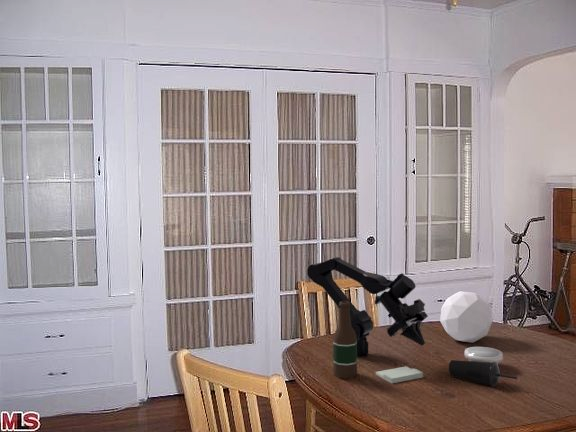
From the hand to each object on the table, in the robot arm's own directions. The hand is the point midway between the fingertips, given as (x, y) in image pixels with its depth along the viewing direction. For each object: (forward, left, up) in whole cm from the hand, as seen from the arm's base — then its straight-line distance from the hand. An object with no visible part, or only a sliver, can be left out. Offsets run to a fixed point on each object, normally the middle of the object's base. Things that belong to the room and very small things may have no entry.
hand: (423, 344), depth 186 cm
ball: (+26, +30, -8) cm, 41 cm away
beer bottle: (-27, -2, -8) cm, 28 cm away
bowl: (+20, 0, -8) cm, 22 cm away
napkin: (-10, -5, -8) cm, 14 cm away
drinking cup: (+7, -7, -6) cm, 11 cm away
